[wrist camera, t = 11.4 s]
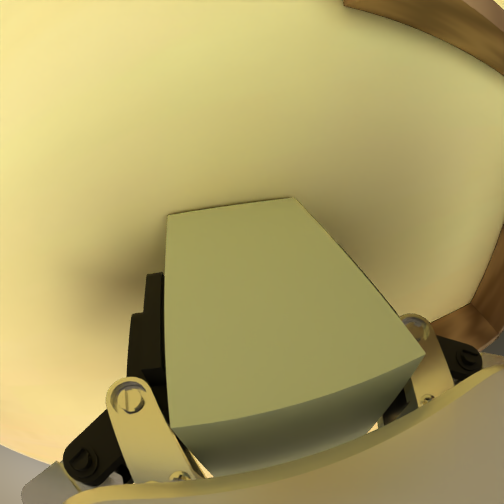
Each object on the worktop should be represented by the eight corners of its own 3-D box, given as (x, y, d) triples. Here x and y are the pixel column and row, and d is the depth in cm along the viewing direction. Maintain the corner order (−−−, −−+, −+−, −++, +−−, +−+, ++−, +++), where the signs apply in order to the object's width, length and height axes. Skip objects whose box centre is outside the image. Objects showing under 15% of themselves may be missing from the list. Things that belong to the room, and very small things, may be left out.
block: (294, 197, 11) (426, 353, 5) (290, 292, 14) (363, 437, 7) (167, 215, 10) (170, 427, 4) (189, 310, 13) (215, 478, 7)
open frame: (531, 83, 10) (576, 100, 6) (472, 308, 23) (498, 337, 19) (341, -18, 7) (427, -47, 3) (311, 374, 20) (336, 429, 16)
